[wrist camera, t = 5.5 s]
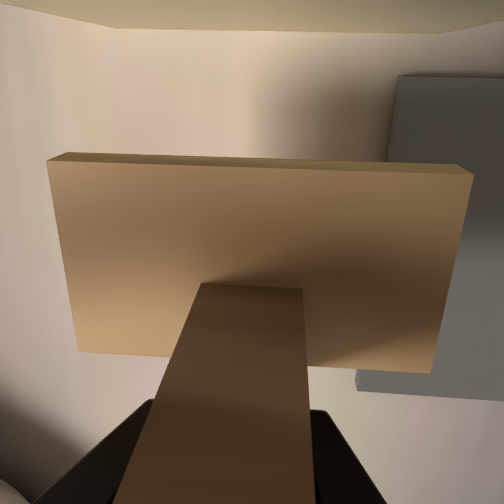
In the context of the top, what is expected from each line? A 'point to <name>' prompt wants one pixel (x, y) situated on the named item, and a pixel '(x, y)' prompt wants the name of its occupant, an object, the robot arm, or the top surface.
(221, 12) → the tile
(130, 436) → the robot arm
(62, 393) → the top surface
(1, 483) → the spoon rest
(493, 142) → the rest mat
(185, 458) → the wooden stamp block
